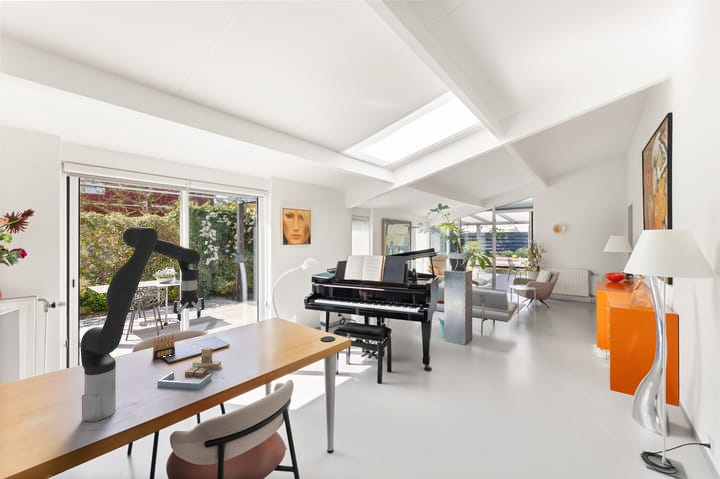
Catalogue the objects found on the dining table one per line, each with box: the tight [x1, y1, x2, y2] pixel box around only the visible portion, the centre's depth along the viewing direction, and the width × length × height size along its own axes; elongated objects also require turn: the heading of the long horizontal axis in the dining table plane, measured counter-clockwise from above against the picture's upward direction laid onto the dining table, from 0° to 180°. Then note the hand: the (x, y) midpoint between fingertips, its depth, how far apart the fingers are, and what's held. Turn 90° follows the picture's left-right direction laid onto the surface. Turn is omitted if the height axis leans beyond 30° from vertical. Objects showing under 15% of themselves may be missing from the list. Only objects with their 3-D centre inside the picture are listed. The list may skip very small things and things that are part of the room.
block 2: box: [193, 368, 209, 378], centre depth 154 cm, size 5×4×2 cm
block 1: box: [184, 366, 200, 378], centre depth 154 cm, size 5×4×2 cm
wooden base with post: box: [191, 346, 222, 370], centre depth 163 cm, size 3×14×10 cm, turn 84°
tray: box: [157, 371, 212, 390], centre depth 146 cm, size 10×20×2 cm, turn 84°
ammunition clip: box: [152, 334, 176, 361], centre depth 175 cm, size 11×2×12 cm, turn 139°
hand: (189, 319), depth 164 cm, fingers open, 8 cm apart
